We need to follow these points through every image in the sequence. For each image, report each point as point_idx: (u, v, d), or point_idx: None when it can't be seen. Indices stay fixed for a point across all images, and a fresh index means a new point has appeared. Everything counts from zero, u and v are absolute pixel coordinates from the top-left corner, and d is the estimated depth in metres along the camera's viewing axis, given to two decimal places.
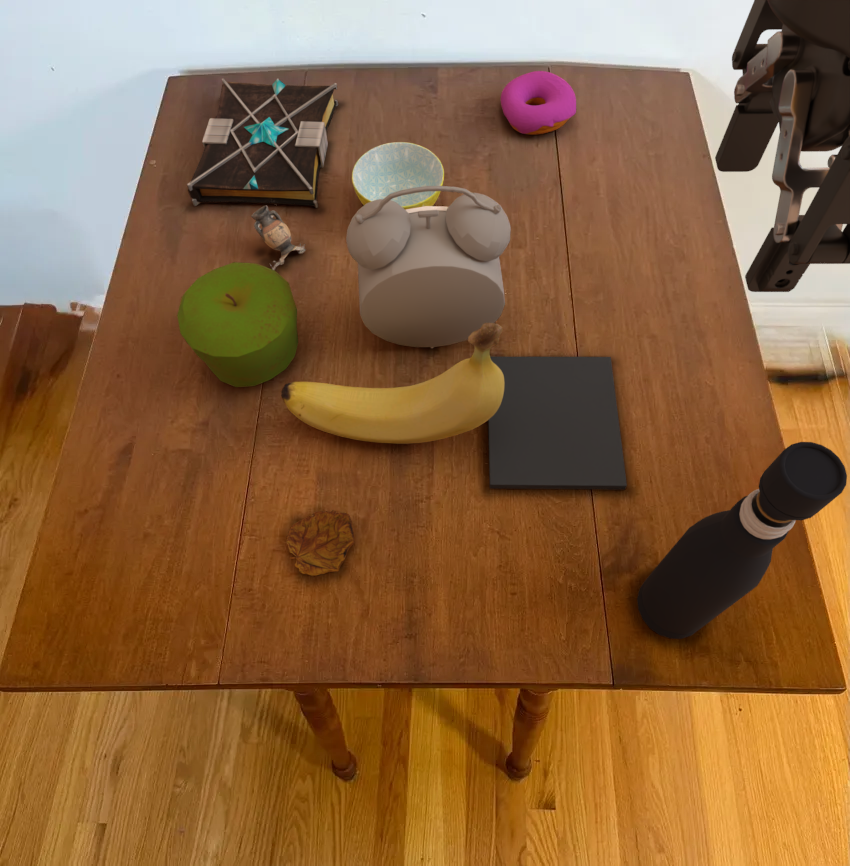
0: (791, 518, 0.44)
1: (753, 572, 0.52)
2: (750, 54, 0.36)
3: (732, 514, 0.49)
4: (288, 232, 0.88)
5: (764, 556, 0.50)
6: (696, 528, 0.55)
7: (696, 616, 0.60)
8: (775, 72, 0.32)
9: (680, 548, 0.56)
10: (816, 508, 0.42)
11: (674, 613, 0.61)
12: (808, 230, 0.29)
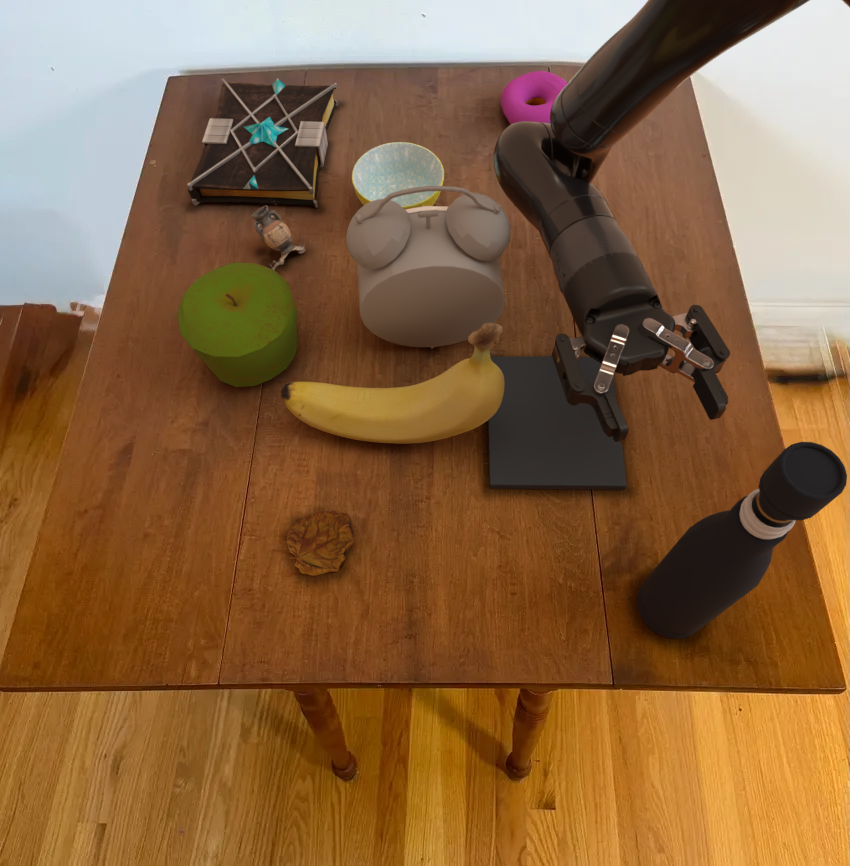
0: (791, 518, 0.44)
1: (753, 572, 0.52)
2: None
3: (732, 514, 0.49)
4: (288, 232, 0.88)
5: (764, 556, 0.50)
6: (696, 528, 0.55)
7: (696, 616, 0.60)
8: None
9: (680, 548, 0.56)
10: (816, 508, 0.42)
11: (674, 613, 0.61)
12: None
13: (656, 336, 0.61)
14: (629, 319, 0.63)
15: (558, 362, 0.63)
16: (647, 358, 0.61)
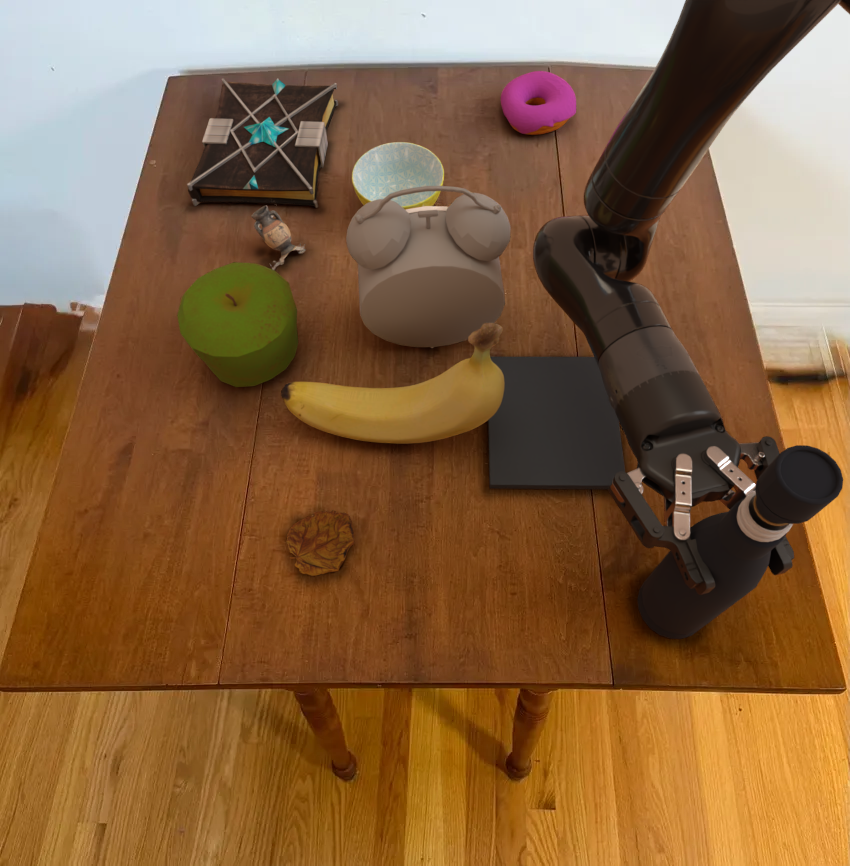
0: (787, 522, 0.44)
1: (751, 574, 0.52)
2: None
3: (729, 517, 0.49)
4: (288, 232, 0.88)
5: (762, 558, 0.50)
6: (694, 530, 0.55)
7: (696, 617, 0.60)
8: None
9: None
10: (812, 512, 0.42)
11: (674, 614, 0.61)
12: None
13: (719, 468, 0.56)
14: (690, 445, 0.57)
15: (621, 502, 0.57)
16: (712, 492, 0.56)
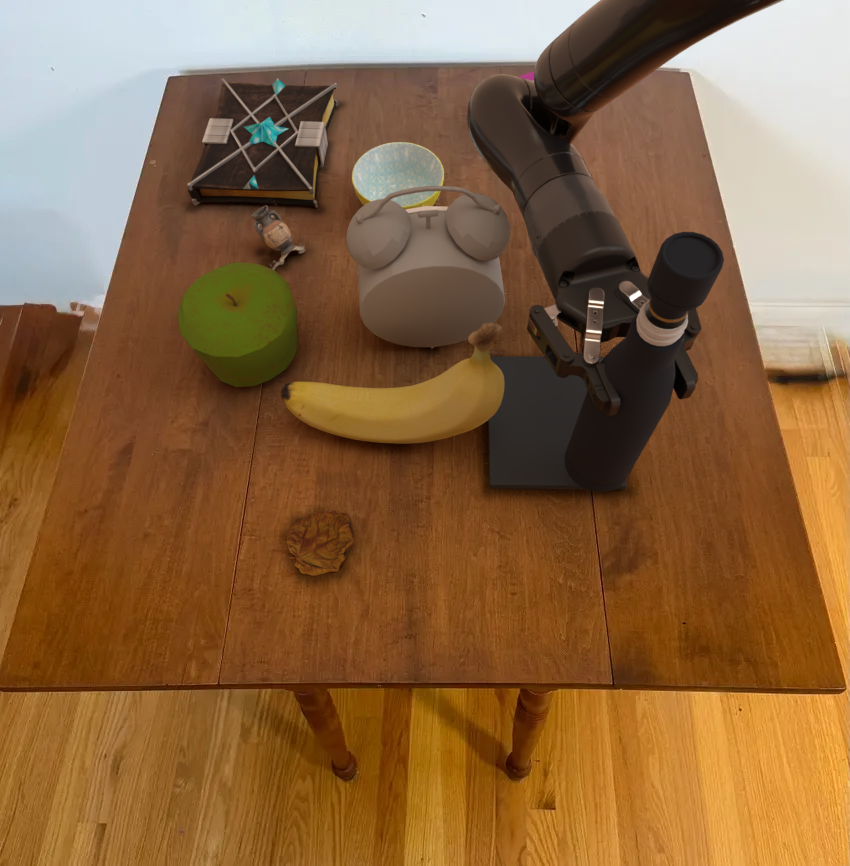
0: (675, 309, 0.46)
1: (654, 390, 0.54)
2: None
3: (630, 326, 0.51)
4: (288, 232, 0.88)
5: (663, 371, 0.52)
6: (605, 357, 0.57)
7: (612, 454, 0.62)
8: None
9: None
10: (695, 292, 0.44)
11: (592, 456, 0.63)
12: None
13: (630, 301, 0.58)
14: (605, 282, 0.59)
15: (537, 336, 0.59)
16: (623, 323, 0.58)
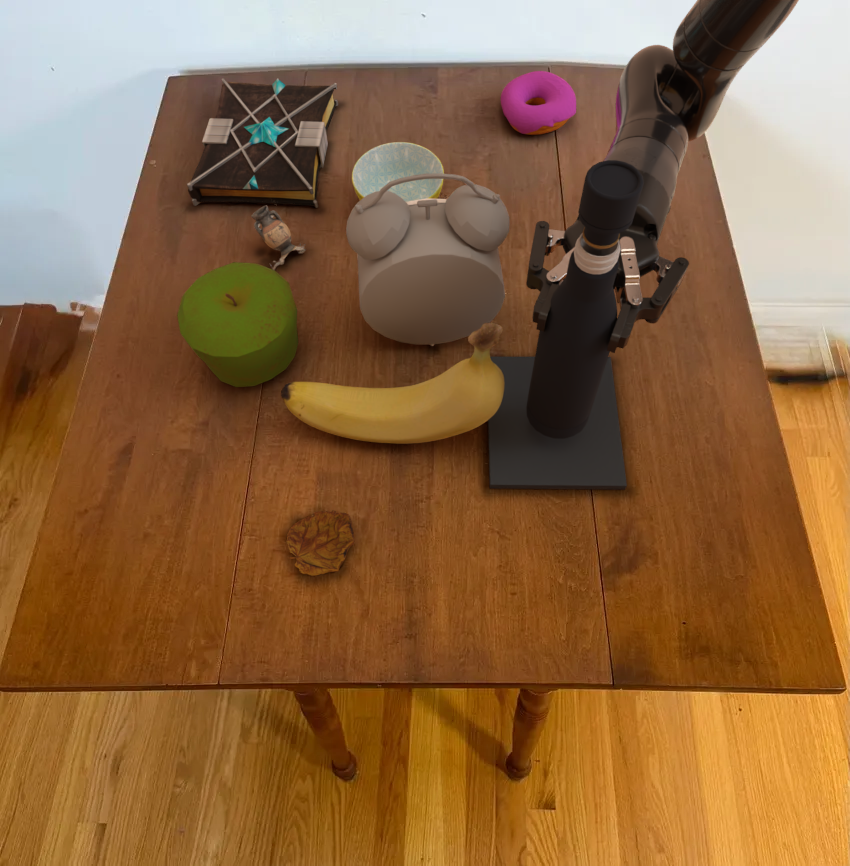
0: (587, 226, 0.50)
1: (577, 321, 0.57)
2: None
3: None
4: (288, 232, 0.88)
5: (587, 304, 0.56)
6: None
7: (545, 385, 0.66)
8: None
9: None
10: (601, 212, 0.48)
11: (534, 383, 0.68)
12: None
13: (620, 253, 0.61)
14: None
15: None
16: None
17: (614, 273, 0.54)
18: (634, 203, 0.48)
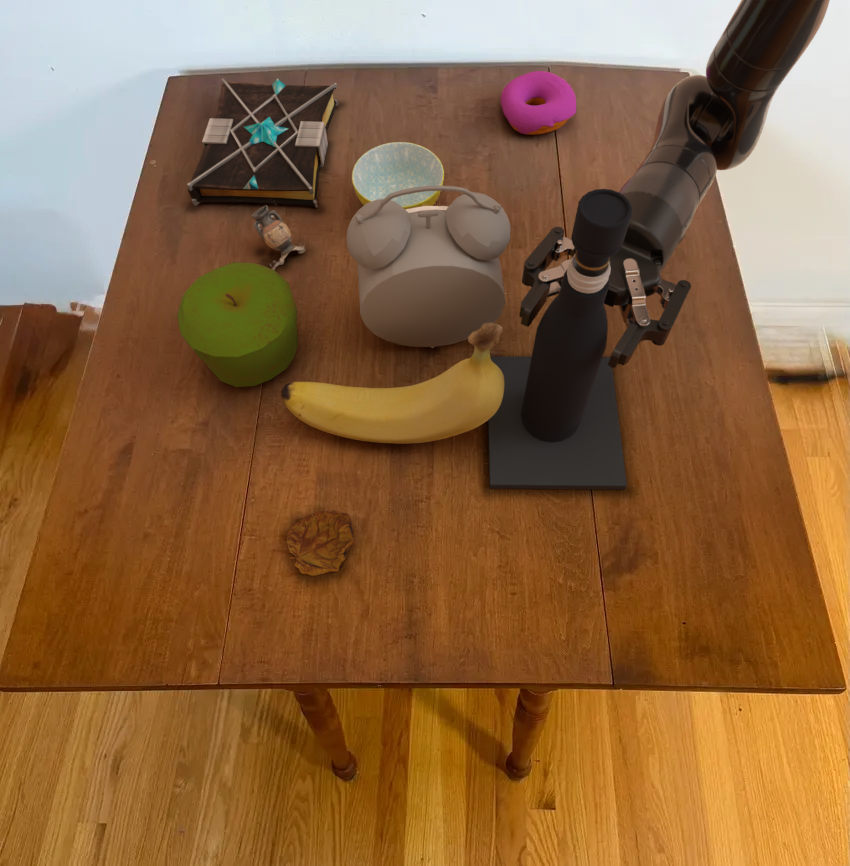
0: (576, 247, 0.53)
1: (564, 333, 0.61)
2: None
3: None
4: (288, 232, 0.88)
5: (575, 319, 0.60)
6: None
7: (534, 389, 0.69)
8: None
9: None
10: (587, 236, 0.52)
11: (527, 385, 0.71)
12: None
13: (625, 275, 0.63)
14: (623, 254, 0.65)
15: None
16: None
17: (602, 294, 0.57)
18: (620, 232, 0.51)
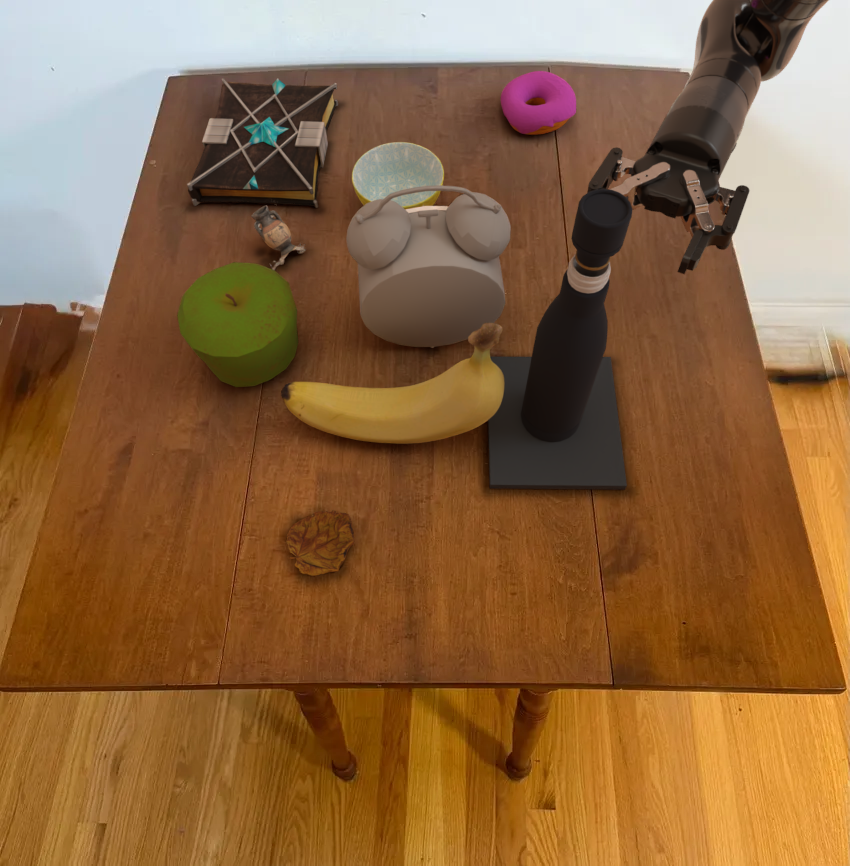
0: (576, 247, 0.53)
1: (564, 333, 0.61)
2: None
3: None
4: (288, 232, 0.88)
5: (575, 319, 0.60)
6: None
7: (535, 389, 0.69)
8: None
9: None
10: (588, 236, 0.52)
11: (527, 385, 0.71)
12: None
13: (686, 186, 0.67)
14: (681, 167, 0.69)
15: None
16: (666, 199, 0.68)
17: (602, 294, 0.57)
18: (620, 232, 0.51)
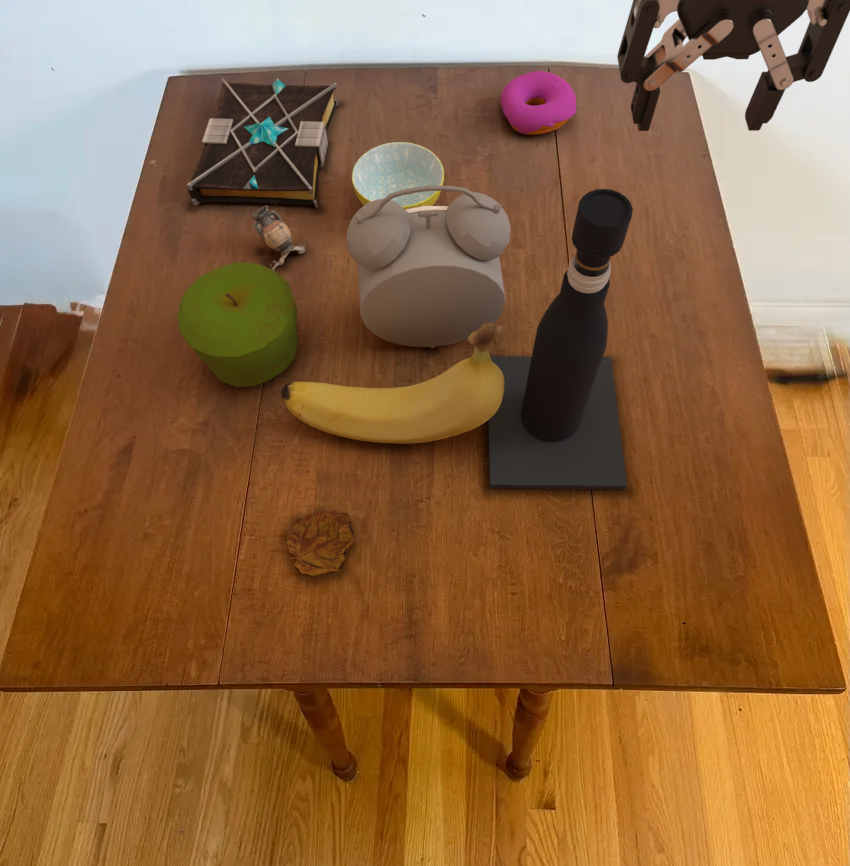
0: (576, 247, 0.53)
1: (564, 333, 0.61)
2: (801, 49, 0.52)
3: None
4: (288, 232, 0.88)
5: (575, 319, 0.60)
6: None
7: (535, 389, 0.69)
8: None
9: None
10: (588, 236, 0.52)
11: (527, 385, 0.71)
12: None
13: (757, 43, 0.49)
14: None
15: (633, 15, 0.49)
16: None
17: (602, 294, 0.57)
18: (620, 232, 0.51)
